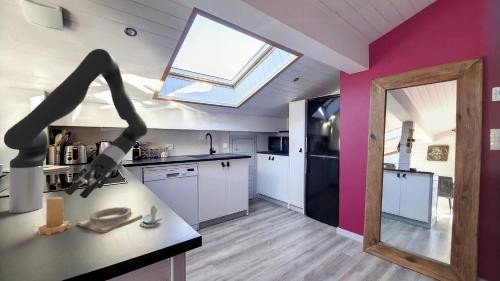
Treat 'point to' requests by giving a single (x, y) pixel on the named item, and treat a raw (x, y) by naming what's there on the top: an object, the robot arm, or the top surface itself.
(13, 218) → the top surface
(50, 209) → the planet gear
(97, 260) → the top surface
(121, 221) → the carrier plate
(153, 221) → the pacifier
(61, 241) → the top surface
